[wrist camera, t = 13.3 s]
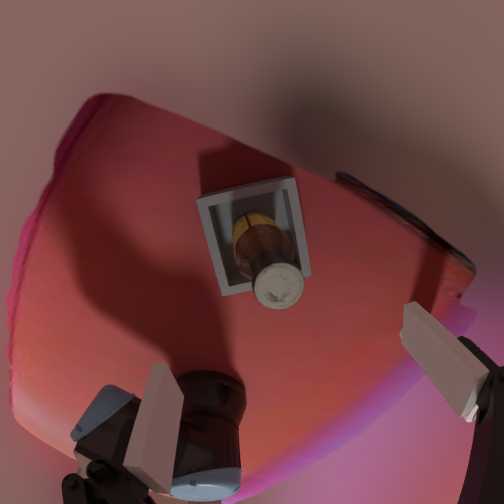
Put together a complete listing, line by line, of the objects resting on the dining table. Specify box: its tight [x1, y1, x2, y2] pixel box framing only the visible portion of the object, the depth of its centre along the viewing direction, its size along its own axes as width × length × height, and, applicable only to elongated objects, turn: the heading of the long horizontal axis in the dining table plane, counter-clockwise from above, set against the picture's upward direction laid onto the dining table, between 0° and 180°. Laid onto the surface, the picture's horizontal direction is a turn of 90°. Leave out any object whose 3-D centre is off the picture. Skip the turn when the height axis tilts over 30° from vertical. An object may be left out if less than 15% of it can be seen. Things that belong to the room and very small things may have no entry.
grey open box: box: [196, 176, 312, 296], centre depth 38 cm, size 12×13×6 cm
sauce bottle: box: [232, 212, 305, 309], centre depth 31 cm, size 7×6×20 cm
